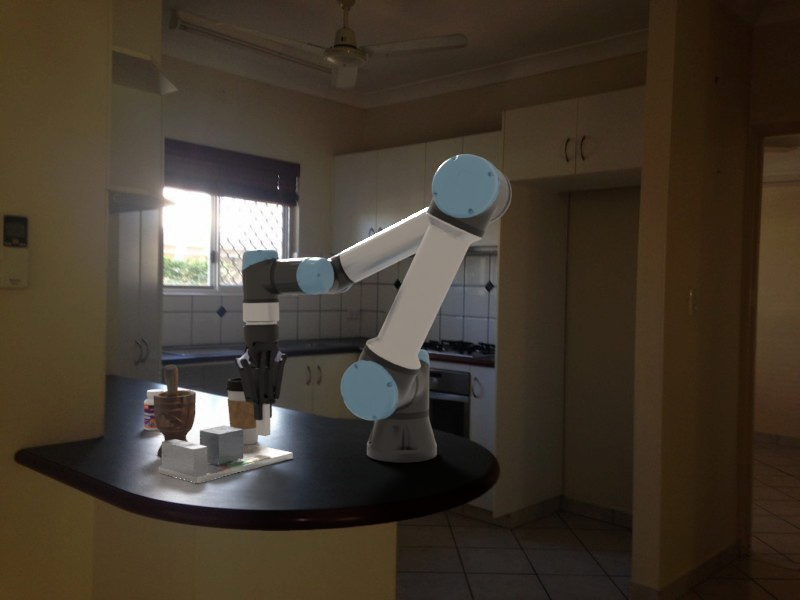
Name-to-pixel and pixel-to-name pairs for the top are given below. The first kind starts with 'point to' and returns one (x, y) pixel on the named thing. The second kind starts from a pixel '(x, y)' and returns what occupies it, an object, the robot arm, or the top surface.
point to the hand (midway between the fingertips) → (263, 434)
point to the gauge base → (194, 467)
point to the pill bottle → (150, 410)
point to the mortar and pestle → (174, 408)
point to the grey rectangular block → (222, 444)
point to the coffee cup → (241, 411)
